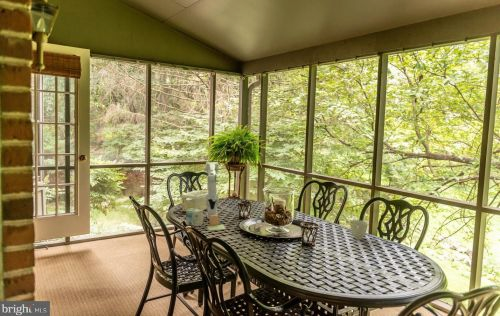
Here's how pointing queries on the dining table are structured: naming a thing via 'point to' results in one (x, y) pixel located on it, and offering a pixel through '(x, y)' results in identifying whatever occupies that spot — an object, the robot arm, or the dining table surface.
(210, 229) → the mat
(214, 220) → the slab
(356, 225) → the teacup
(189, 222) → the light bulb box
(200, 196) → the storage basket
